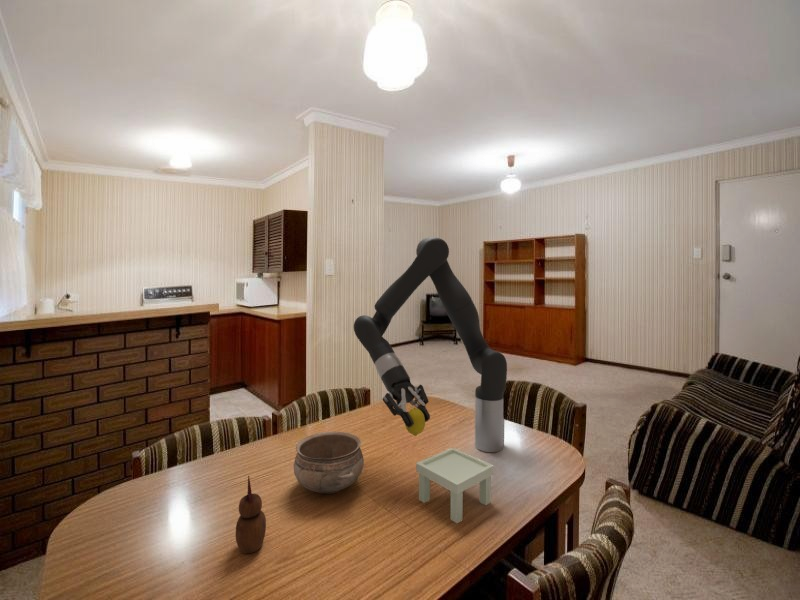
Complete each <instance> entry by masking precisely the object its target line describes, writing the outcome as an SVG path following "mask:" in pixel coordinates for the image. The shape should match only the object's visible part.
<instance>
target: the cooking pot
mask: <svg viewBox="0 0 800 600" xmlns="http://www.w3.org/2000/svg"><path fill="white" fill-rule="evenodd" d="M361 445H362V441H361V438H359V436H357V435H355V434H353V433H349V432H344V431H323V432H318V433H314V434H311V435H308V436H305V437H304V438H301V440H299V441H298V442H297V444H296V446H295V451H296V455H295V457H294V458H295V459H294V463H293V473H294V476H295V479H296V480H297V482H298V483H299V484H300V485H301V486H302V487H304V488H305V489H307V490H309V491H311V492H315V493H319V494H324V495H331V494H332V495H333V494H335V493H338V492H340V491H342V490H344V489H346V488H348V487H350V486H351V485H353V484H354V483H355V482H356V481H357V480H358V478H359V477H360V476H361V474H362V471H363V469H364V465H365V464H364V462H365V461H364V460H365V459H364V455H363V452H362V449H361Z"/></svg>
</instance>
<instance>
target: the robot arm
mask: <svg viewBox="0 0 800 600" xmlns="http://www.w3.org/2000/svg"><path fill="white" fill-rule="evenodd" d="M447 243H448V242H446V241H445V240H444V239H442V238H440V237H435V236H434V237H433V236H432V237H430V236H429V237H425V238H423V239H422V240H420V241H419V243H418V244H417V246H416V249H415V250H416V251H415V253H416V257H415V259H414V260H413V261H412V263H411V264H410V266H408V268H407V269H406V271H404V272H403V273H402V274H401V275H400V276H399V277H398V278H397V279H396V280H395V281H394V282H392V284H390V285H389V287H388V288H387V289H386V290H385V291H384V292H383V294H381V296H380V297H379V298H378V299H377V301H376V302H375V304H374V309H375V312H374V314H373V316H372V317H371V316H369V315H360V316H358V317H357V318H355V321H353V331H354V334H355V336H356V338H357V339H358V341H359V342H360V343H361V345H362V346H363V347H364V349H365V350H366V351H367V353H369V356H370V359H371V360H372V362H373V364H374V367H375V369H376V371H377V374H378V376H379V378H380V380H381V382H382V384H383V386H384V387H385V390H386V391H387V392H386V394H385V395H383V397H382V401H383V403H384V404H385V406H386V407H387V408H388V410H389V411H390V413H391V414H392V415H393V416H395V417H396V416H399V417H401V419H402V421H403V423H404V425H405V427H406V426H408V428H409V427H411V426H412V425H413V424H414V423H413V421H412V419H411V417H410V415H409V413H408V412H409V411H407V404H410V405H412V406H414V408H417V409H419V410H420V411H422V413H423V414H424V417H425V423H427V422H428V421H429V420H431V415H430V413H429V411H428V409H427V408H426V405H427V404H428V403H429V398H428V395H427V394H426V391H425V388H424V386H423V384H419V385H418V386H417V385H416V386H415V385H413V384H412V382H411V377H410V375H409V373H408V371H406V369H405V367H404V365H403V362H402V361H401V360H400V358H399V357H398V355H397V354H396V352H395V351H394V349H393V347H392V346H391V344H390V342H389V341H388V340H387V339H385V338H384V337H383V335H384V334H385V333H386V331H387V329H388V327H389V325H390V324H391V321H392V319H393V317H395V315H396V314H397V313H398V311H399V310H400V309H401V308H402V307H403V305H405V304H406V302H407V300H408V299H409V298H410V297H411V296H412V294H414V293H415V291H416V290H417V289H418V287H419V286H421V284H422V283H423V282H424V281H425V280H426V279H427V278H430V280H431V282H432V283H433V284H434V288H435V290H436V291H437V292H436V293H437V295H438V297H439V300H440V301H441V304H442V306H443V308H444V310H445V313H446V314H447V316H448V318H449V320H450V322H451V323H452V325H453V327H454V329H455V331H456V333H457V334H458V336H459V338H460V340H461V342H462V343H463V346H464V348H465V350H466V353H467V355H468V359H469V361H470V363H471V365H472V368H473V369H474V370H475V372H476V373H478V374H479V375H481V376H480V385H478V386H477V387H476V388H475V392H474V398H475V399H474V403H475V404H474V409H475V411H474V412H475V413H474V415H475V416H474V423H475V424H474V446H475V448H476V449H477V450H478V451H482V452H486V453H497V452H500V451H502V450H503V447H504V446H505V418H504V393H505V392H506V389H507V378H508V375H507V374H508V362H507V359H506V357H505V355H504V354H503V353H502V352H499V351H497V350H495V349H492V348H491V346H489V345H488V343H487V342H486V339H485V338H484V336H483V334H482V331H481V325H480V317H479V313H478V310H477V307H476V305H475V303H474V302H473V301H474V300H472V297H471V296H470V294H469V292H468V291H467V289H466V288H465V287H464V285H463V284H462V282H461V281H460V280H459V279H458V278H457V276H456V275H455V273H454V272H453V269H452V268H451V266H450V263H449V262H448V258H449V255H450V249H449V245H448V244H447Z"/></svg>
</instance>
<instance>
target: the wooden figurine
mask: <svg viewBox="0 0 800 600" xmlns="http://www.w3.org/2000/svg"><path fill="white" fill-rule="evenodd" d="M247 477H248V478H247V494H246V495H244V496H243V497H241V499H240V500H239V502H238V513H239V517H238V518H237V521H236V524H235V541H236V545H237V547H238V549H239V551H240V552H242V553H244V554H253V553H255V552H257V551H259V549H260V548H261V547H262V546H263V544H264V539H265V536H266V530H267V529H266V528H267V519H266V515H265V513H264V511H262V508H263V505H262V504H263V503H262V502H263V501H262V498H261V496H260V495H259V494H257V493H252V487H251V486H252V485H251V479H250V475H248V476H247Z"/></svg>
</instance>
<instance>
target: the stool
mask: <svg viewBox="0 0 800 600" xmlns="http://www.w3.org/2000/svg"><path fill="white" fill-rule="evenodd" d="M415 471H416V473H418V500H419V501H420V502H422V503H424V504H425V503H427V502H429V501H430V500H431V481H433V482H434V483H436V484H437V485H439V486H441V487H442V488H444V489H447V490H449V491H450V520H451V521H452V522H454V523H455V524H458V523H460V522H462V521H463V511H464V510H463V504H464V503H463V497H464V496H463V492H465V491H466V490H467V489H470V488H472V487H474V486H475V485H477V484H479V503H481V504H482V505H484V506H487V505H490V504H491V503H492V501H491V500H492V499H491V498H492V496H491V495H492V494H491V493H492V476H494V475H495V466H494V465H493V464H491V463H489V462H487V461H485V460H482V459H479V458H478V457H476V456H473V455H470V454H469V453H466V452H464V451H462V450H460V449H457V448H455V447H451V448H449V449H446V450H443V451H441V452H439V453H436V454H434V455H432V456H429V457H427V458H424V459H422V460H420V461H417V462H416V463H415Z"/></svg>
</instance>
